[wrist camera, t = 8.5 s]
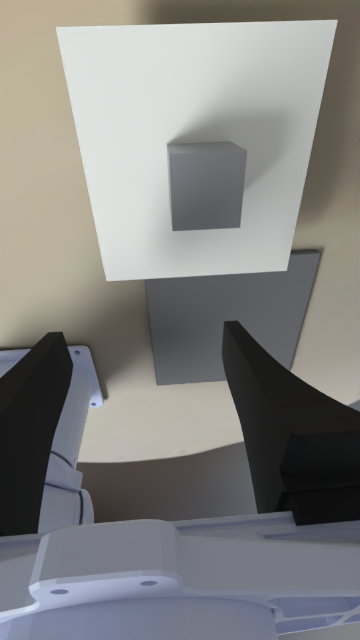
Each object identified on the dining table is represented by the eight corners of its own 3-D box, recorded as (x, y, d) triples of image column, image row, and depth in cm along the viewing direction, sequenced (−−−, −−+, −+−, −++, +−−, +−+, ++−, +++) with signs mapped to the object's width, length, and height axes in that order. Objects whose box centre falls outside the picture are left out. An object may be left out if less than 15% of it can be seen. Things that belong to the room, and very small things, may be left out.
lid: (107, 276, 18) (98, 311, 15) (60, 30, 12) (26, 5, 9) (283, 266, 19) (308, 298, 16) (330, 22, 12) (388, -3, 9)
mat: (156, 381, 30) (156, 385, 29) (143, 260, 22) (143, 263, 21) (286, 372, 30) (287, 375, 30) (317, 250, 22) (320, 253, 22)
